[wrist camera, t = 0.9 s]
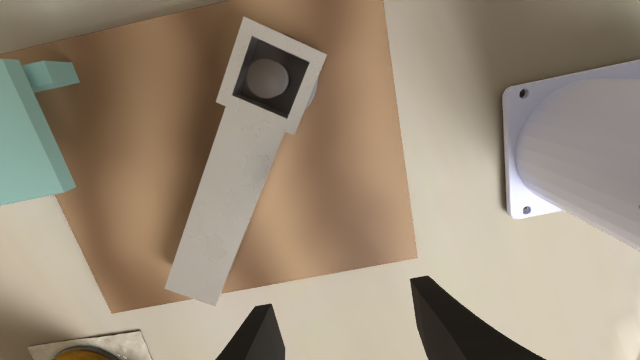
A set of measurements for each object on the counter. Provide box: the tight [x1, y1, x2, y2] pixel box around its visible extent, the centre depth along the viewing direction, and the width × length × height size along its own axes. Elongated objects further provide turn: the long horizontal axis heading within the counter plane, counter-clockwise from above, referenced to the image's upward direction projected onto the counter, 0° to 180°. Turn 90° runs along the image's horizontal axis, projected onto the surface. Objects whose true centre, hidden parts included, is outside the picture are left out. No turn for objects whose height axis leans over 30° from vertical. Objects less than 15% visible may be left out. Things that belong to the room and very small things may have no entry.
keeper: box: [0, 59, 80, 206], centre depth 17 cm, size 6×6×4 cm
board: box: [0, 0, 418, 313], centre depth 17 cm, size 20×16×4 cm
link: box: [164, 17, 327, 306], centre depth 17 cm, size 15×4×2 cm, turn 157°
